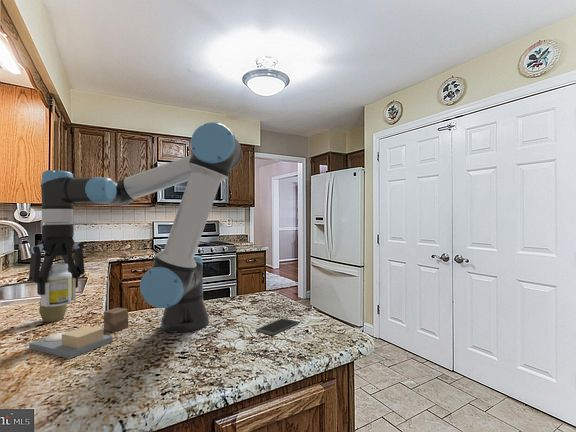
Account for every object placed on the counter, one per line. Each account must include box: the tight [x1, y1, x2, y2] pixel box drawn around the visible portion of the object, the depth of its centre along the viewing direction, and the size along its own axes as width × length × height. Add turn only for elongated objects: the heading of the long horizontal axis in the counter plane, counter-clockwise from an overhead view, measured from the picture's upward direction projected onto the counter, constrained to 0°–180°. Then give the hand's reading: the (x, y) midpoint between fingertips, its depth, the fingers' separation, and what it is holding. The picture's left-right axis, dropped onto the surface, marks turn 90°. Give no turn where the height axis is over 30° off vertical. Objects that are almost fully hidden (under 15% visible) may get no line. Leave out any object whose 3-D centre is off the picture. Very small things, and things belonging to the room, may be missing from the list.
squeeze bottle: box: [38, 299, 68, 323], centre depth 112 cm, size 8×8×18 cm
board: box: [28, 325, 114, 360], centre depth 89 cm, size 18×12×4 cm, turn 66°
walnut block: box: [103, 307, 129, 333], centre depth 102 cm, size 5×5×6 cm
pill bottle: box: [46, 262, 73, 307], centre depth 91 cm, size 6×6×12 cm
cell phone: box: [255, 317, 300, 337], centre depth 100 cm, size 7×14×1 cm, turn 142°
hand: (58, 302), depth 91 cm, fingers closed on pill bottle, 6 cm apart
